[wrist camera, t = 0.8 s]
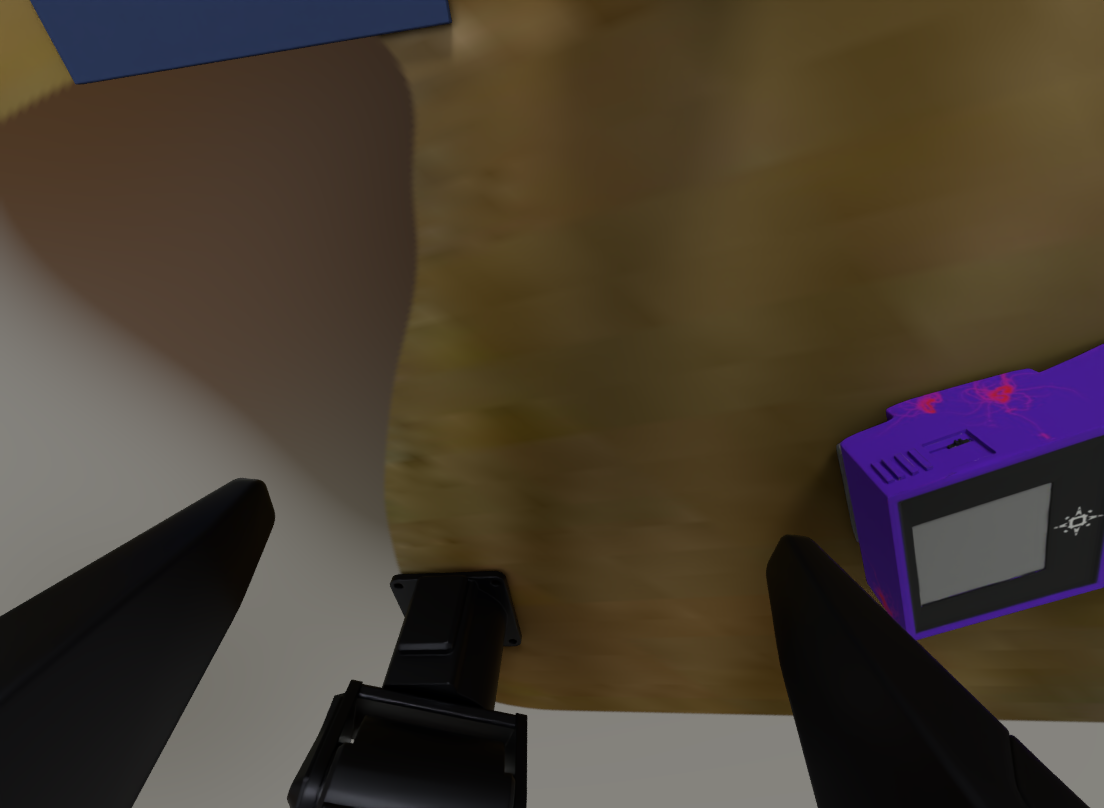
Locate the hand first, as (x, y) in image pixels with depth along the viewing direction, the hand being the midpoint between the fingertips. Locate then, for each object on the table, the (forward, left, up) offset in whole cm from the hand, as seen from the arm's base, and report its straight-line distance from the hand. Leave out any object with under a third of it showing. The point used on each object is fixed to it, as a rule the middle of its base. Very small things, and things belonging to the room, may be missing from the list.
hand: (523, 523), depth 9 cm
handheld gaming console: (-9, -19, -12) cm, 24 cm away
